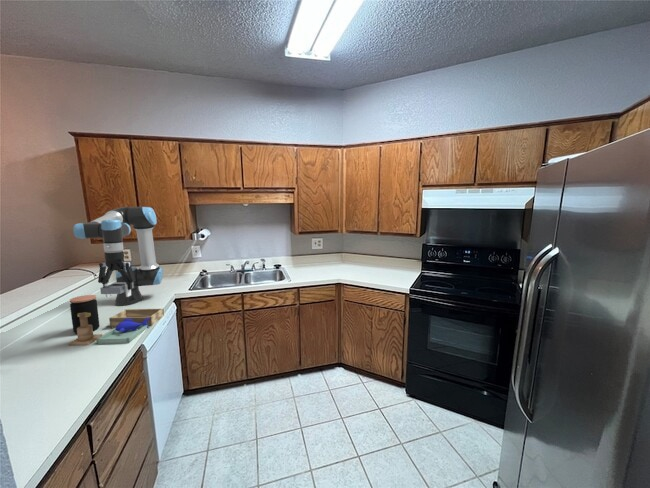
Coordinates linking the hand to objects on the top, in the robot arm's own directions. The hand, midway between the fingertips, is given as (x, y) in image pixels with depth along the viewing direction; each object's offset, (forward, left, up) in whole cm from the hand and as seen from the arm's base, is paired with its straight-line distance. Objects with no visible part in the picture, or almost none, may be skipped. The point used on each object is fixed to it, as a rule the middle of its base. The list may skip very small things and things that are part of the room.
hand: (118, 296), depth 136 cm
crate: (-17, -2, -21) cm, 27 cm away
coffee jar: (-9, -24, -22) cm, 34 cm away
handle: (+3, -15, -21) cm, 27 cm away
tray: (-1, 0, -21) cm, 21 cm away
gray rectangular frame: (0, 0, +3) cm, 3 cm away
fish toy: (-5, +2, -21) cm, 22 cm away
